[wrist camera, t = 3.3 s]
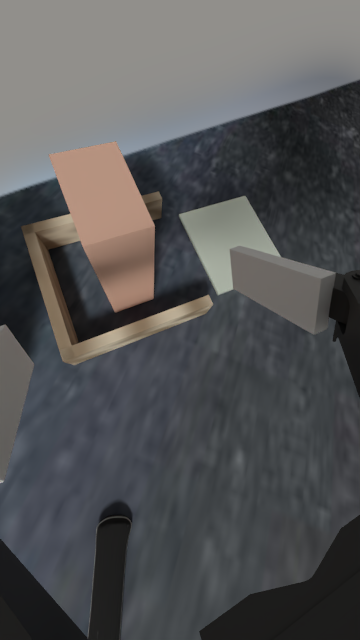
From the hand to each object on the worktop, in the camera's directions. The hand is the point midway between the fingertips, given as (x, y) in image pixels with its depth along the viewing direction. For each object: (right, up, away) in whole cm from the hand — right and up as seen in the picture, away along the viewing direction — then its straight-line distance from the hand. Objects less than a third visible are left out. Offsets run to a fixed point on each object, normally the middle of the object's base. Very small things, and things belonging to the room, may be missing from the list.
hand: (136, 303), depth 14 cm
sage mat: (+10, +10, +19) cm, 24 cm away
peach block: (-5, +4, +16) cm, 17 cm away
